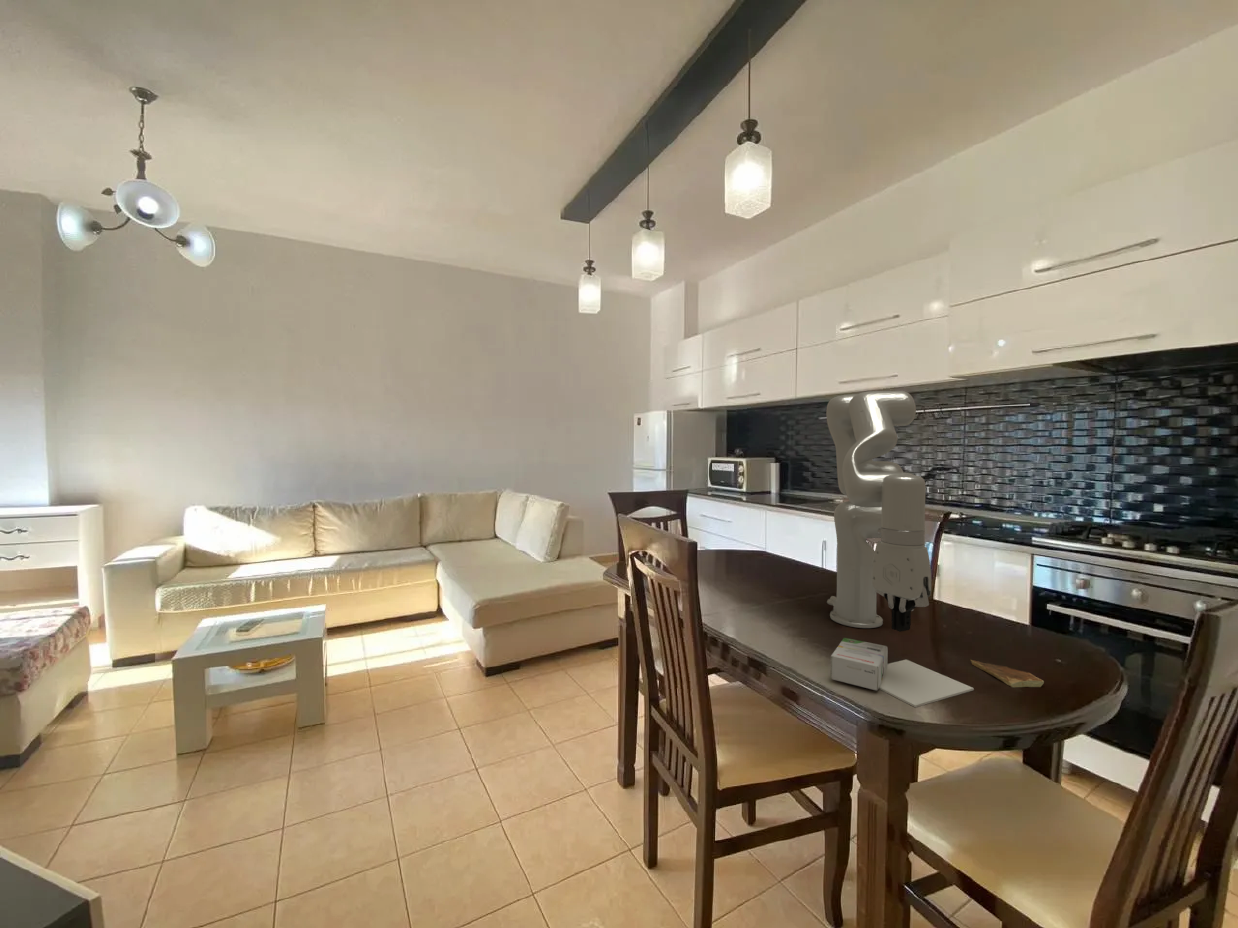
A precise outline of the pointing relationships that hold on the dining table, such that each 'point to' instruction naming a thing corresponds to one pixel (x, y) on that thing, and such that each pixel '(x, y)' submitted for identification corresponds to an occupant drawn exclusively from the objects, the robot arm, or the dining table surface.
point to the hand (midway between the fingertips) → (900, 629)
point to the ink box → (859, 663)
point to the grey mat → (919, 684)
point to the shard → (1009, 675)
